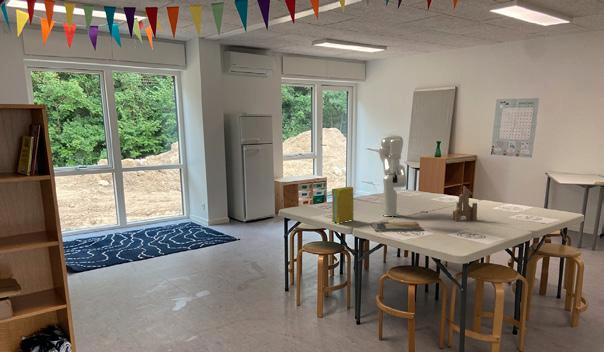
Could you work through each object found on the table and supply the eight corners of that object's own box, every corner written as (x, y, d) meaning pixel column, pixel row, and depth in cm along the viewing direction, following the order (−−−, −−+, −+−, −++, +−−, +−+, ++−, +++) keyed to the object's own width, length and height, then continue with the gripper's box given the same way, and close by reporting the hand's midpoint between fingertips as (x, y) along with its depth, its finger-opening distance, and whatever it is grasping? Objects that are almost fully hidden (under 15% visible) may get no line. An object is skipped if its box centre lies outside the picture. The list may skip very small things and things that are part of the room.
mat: (370, 223, 291) (370, 222, 291) (414, 223, 291) (414, 221, 291) (375, 231, 269) (375, 230, 269) (423, 230, 269) (423, 229, 269)
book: (338, 224, 292) (337, 189, 289) (332, 222, 297) (331, 188, 294) (355, 220, 302) (355, 187, 299) (349, 219, 307) (349, 186, 304)
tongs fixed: (376, 227, 276) (376, 222, 276) (416, 226, 276) (416, 221, 276) (378, 229, 271) (378, 224, 270) (419, 228, 271) (419, 223, 270)
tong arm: (376, 226, 278) (376, 221, 277) (416, 226, 277) (416, 221, 277) (377, 228, 272) (377, 223, 272) (418, 228, 272) (418, 223, 271)
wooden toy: (456, 221, 293) (456, 187, 290) (452, 219, 300) (453, 185, 297) (477, 221, 293) (478, 186, 290) (473, 219, 300) (474, 185, 297)
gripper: (387, 156, 295) (387, 181, 297) (392, 158, 280) (392, 184, 282) (398, 156, 295) (397, 181, 297) (403, 157, 280) (402, 184, 282)
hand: (395, 182), depth 290 cm, fingers closed
